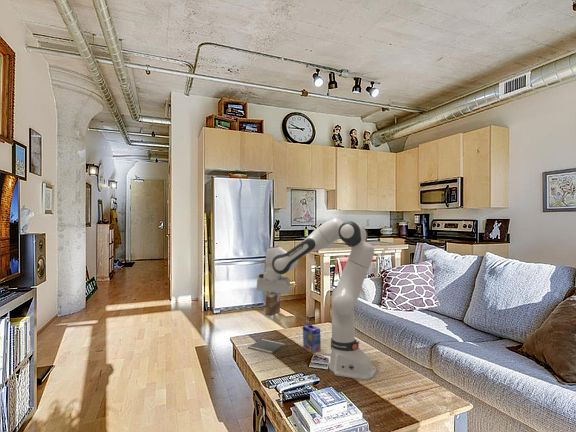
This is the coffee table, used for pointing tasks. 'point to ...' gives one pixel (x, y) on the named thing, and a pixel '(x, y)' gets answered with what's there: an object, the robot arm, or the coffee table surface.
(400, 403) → the coffee table surface
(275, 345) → the mat
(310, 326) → the ink cartridge box
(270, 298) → the slab
